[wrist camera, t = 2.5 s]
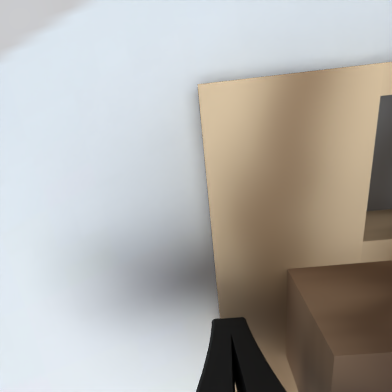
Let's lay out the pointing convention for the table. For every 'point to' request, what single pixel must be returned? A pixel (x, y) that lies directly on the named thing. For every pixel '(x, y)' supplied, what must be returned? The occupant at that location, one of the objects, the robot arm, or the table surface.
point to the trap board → (294, 186)
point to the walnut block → (340, 327)
